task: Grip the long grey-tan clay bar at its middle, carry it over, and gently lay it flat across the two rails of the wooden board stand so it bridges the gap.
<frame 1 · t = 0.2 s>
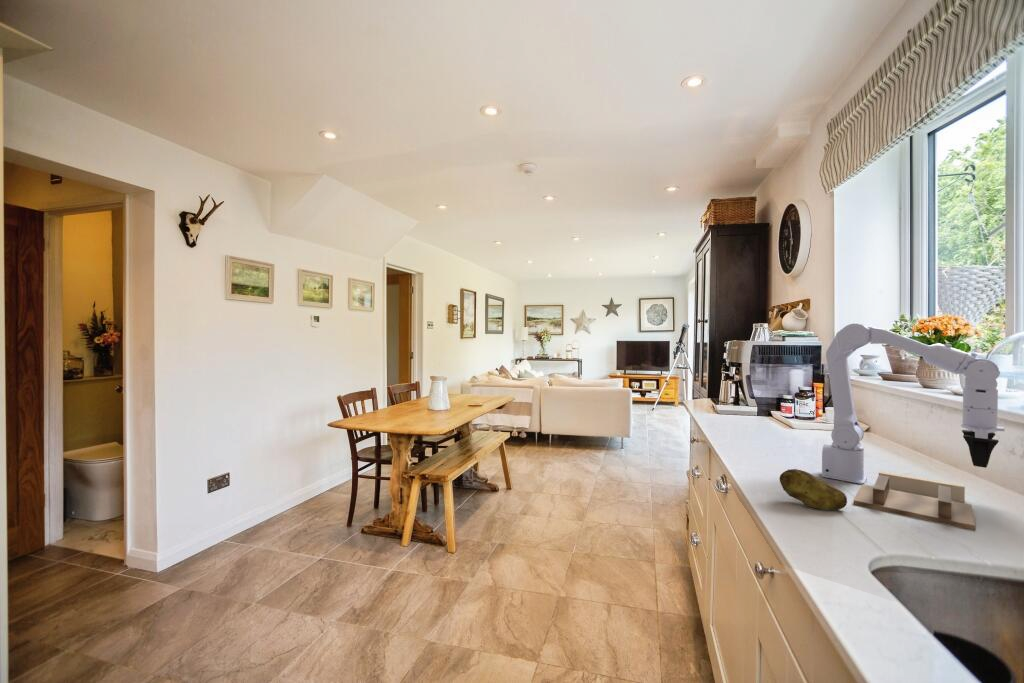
hand: (978, 463, 105), 10 cm above the worktop, tool pointing down, fingers open, 7 cm apart
clay bar: (919, 493, 112), on the worktop
wooden board stand: (911, 506, 102), on the worktop
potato: (811, 506, 103), on the worktop
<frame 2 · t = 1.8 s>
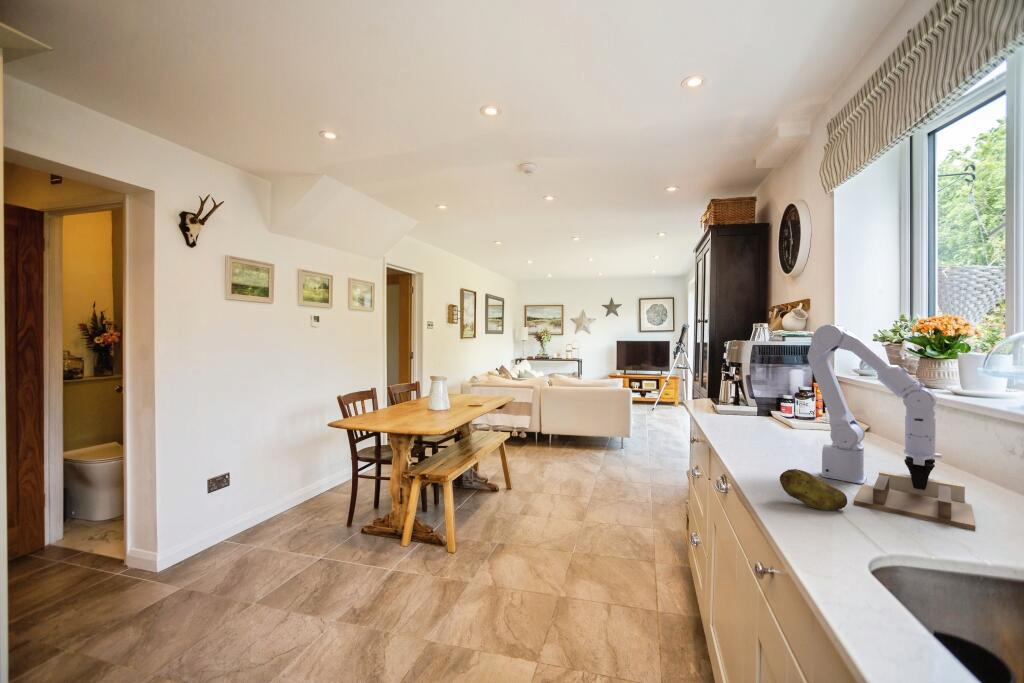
hand: (919, 487, 112), 1 cm above the worktop, tool pointing down, fingers closed on clay bar, 3 cm apart
clay bar: (919, 493, 112), on the worktop, touching gripper
everything else where it was.
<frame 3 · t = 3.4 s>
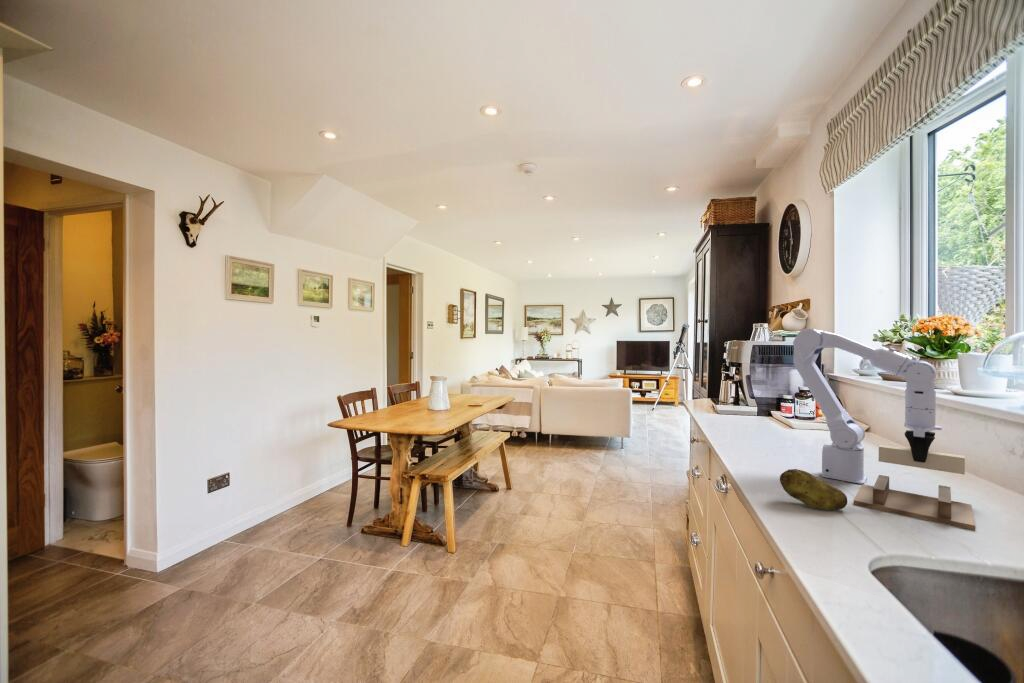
hand: (919, 460, 111), 8 cm above the worktop, tool pointing down, fingers closed on clay bar, 3 cm apart
clay bar: (919, 466, 111), point 7 cm above the worktop, touching gripper
everything else where it was.
when the fingers open (7 cm above the worktop, at t = 4.9 s): clay bar stays where it is, resting on wooden board stand.
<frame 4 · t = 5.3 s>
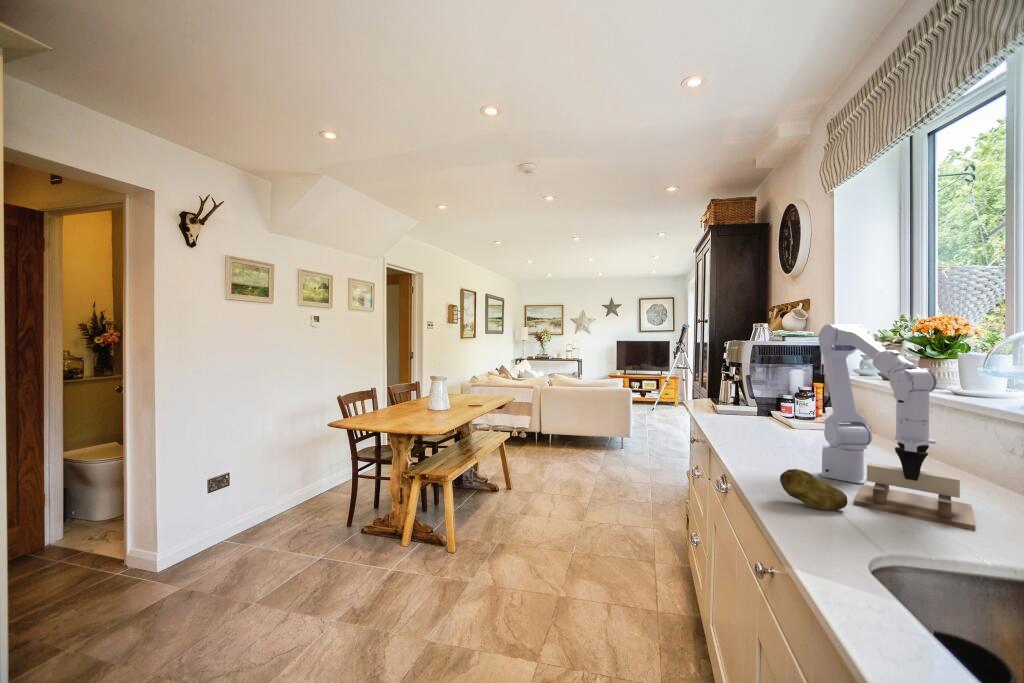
hand: (911, 476, 102), 7 cm above the worktop, tool pointing down, fingers open, 6 cm apart
clay bar: (911, 487, 102), point 4 cm above the worktop, touching wooden board stand
everything else where it was.
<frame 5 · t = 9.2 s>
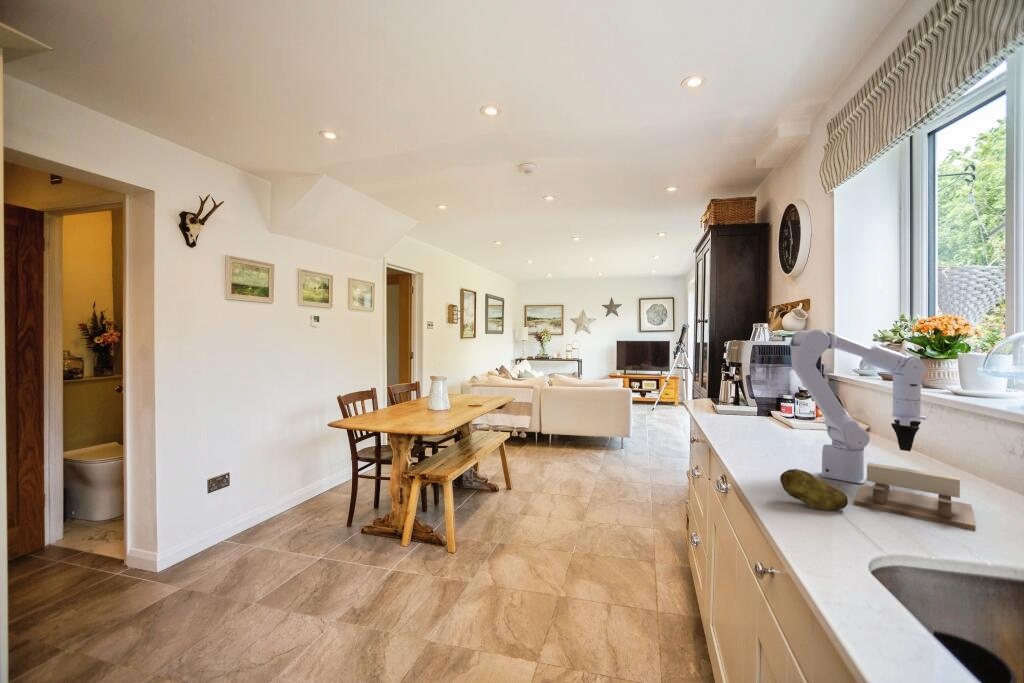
hand: (906, 447, 120), 9 cm above the worktop, tool pointing down, fingers open, 7 cm apart
nothing on the worktop moved.
at the end: clay bar inside the target area on the wooden board stand (0.1 cm from its centre), point 4.5 cm above the wooden board stand's base; clay bar tilted 0°; the gripper is holding nothing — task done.
